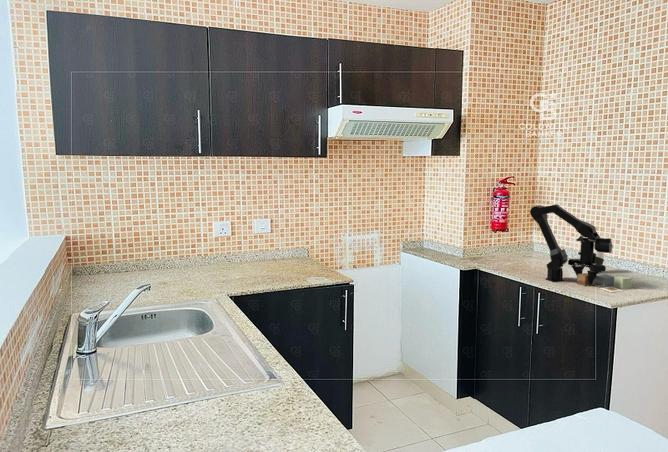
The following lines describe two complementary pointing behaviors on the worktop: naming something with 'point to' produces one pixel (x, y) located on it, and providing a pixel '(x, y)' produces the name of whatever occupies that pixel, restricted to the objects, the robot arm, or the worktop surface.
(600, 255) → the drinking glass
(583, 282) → the walnut block
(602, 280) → the slate base block
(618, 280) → the sage block
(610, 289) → the card
